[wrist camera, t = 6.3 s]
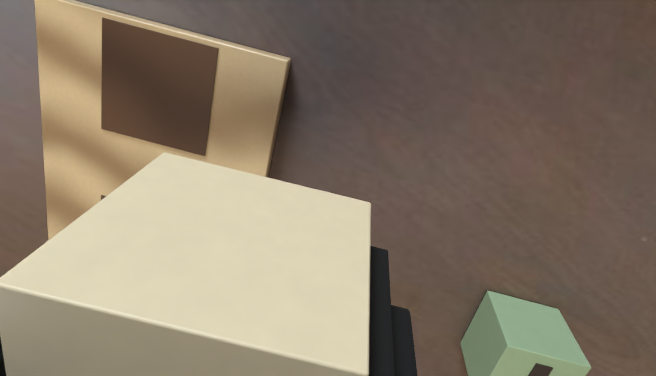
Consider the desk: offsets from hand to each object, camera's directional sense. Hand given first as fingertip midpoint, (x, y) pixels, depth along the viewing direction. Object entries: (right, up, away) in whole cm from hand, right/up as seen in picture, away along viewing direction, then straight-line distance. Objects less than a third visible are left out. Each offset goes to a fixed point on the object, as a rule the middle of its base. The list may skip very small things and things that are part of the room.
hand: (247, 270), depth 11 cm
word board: (-9, +3, +17) cm, 19 cm away
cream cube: (0, 0, 0) cm, 0 cm away
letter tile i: (+15, -8, +19) cm, 25 cm away
